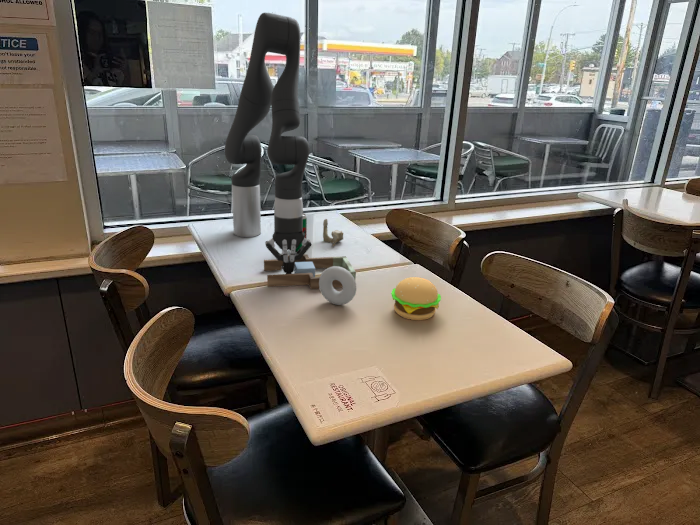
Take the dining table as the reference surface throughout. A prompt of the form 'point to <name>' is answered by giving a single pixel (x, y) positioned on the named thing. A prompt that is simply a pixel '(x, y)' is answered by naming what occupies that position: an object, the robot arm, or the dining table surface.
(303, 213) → the soda can
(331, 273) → the donut
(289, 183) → the robot arm
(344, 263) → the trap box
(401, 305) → the toy cheeseburger
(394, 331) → the dining table surface
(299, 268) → the block
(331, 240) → the bone
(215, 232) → the dining table surface
